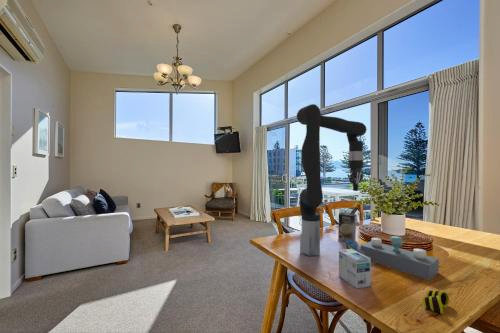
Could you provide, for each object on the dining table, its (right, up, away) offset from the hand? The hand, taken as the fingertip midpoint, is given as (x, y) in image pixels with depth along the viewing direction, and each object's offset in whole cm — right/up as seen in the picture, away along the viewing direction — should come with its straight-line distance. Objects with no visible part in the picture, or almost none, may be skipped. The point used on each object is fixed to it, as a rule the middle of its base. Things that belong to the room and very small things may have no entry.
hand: (355, 190), depth 130 cm
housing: (+8, -31, -23) cm, 40 cm away
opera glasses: (+1, -32, -55) cm, 63 cm away
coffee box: (-1, -31, +10) cm, 33 cm away
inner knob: (+3, -30, -16) cm, 34 cm away
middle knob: (+8, -27, -23) cm, 36 cm away
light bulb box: (-18, -32, -38) cm, 53 cm away
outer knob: (+13, -30, -31) cm, 45 cm away
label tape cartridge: (-12, -32, -27) cm, 43 cm away
